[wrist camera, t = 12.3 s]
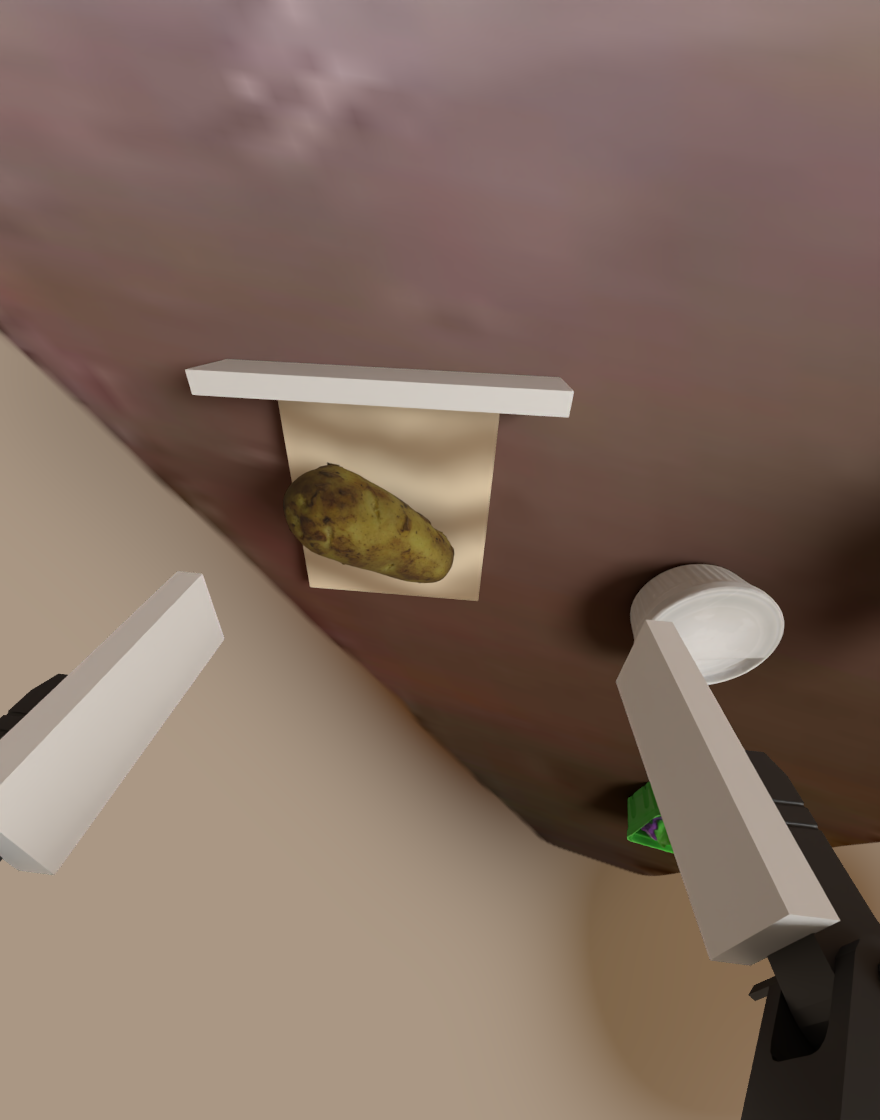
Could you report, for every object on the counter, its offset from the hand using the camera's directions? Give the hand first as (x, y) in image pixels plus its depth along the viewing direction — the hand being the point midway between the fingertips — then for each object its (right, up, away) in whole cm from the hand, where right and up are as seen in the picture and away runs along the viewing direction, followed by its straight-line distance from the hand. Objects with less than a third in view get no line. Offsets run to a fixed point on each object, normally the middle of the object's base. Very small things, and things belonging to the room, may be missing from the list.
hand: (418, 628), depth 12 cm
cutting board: (-3, +7, +22) cm, 24 cm away
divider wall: (-3, +15, +17) cm, 23 cm away
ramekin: (+23, -2, +26) cm, 35 cm away
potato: (-4, +6, +21) cm, 22 cm away
